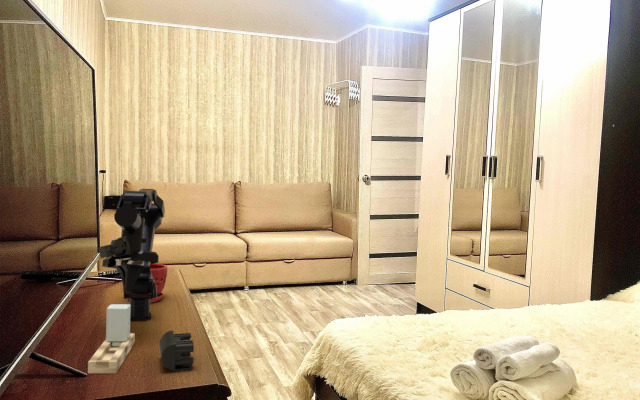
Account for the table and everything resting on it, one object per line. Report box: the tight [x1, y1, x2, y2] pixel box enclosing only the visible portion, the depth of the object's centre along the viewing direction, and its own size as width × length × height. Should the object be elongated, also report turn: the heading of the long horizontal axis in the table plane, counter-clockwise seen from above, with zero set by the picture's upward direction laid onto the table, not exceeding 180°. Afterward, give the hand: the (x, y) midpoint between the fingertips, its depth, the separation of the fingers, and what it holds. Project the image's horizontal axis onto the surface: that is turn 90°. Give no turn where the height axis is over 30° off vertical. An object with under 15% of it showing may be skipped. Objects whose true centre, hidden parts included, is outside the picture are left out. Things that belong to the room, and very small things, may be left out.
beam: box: [87, 332, 136, 374], centre depth 127 cm, size 20×6×3 cm, turn 8°
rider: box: [105, 303, 131, 346], centre depth 132 cm, size 4×5×10 cm
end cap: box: [159, 329, 195, 373], centre depth 125 cm, size 10×7×7 cm
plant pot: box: [128, 263, 168, 303], centre depth 180 cm, size 13×13×12 cm
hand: (127, 292), depth 142 cm, fingers closed
